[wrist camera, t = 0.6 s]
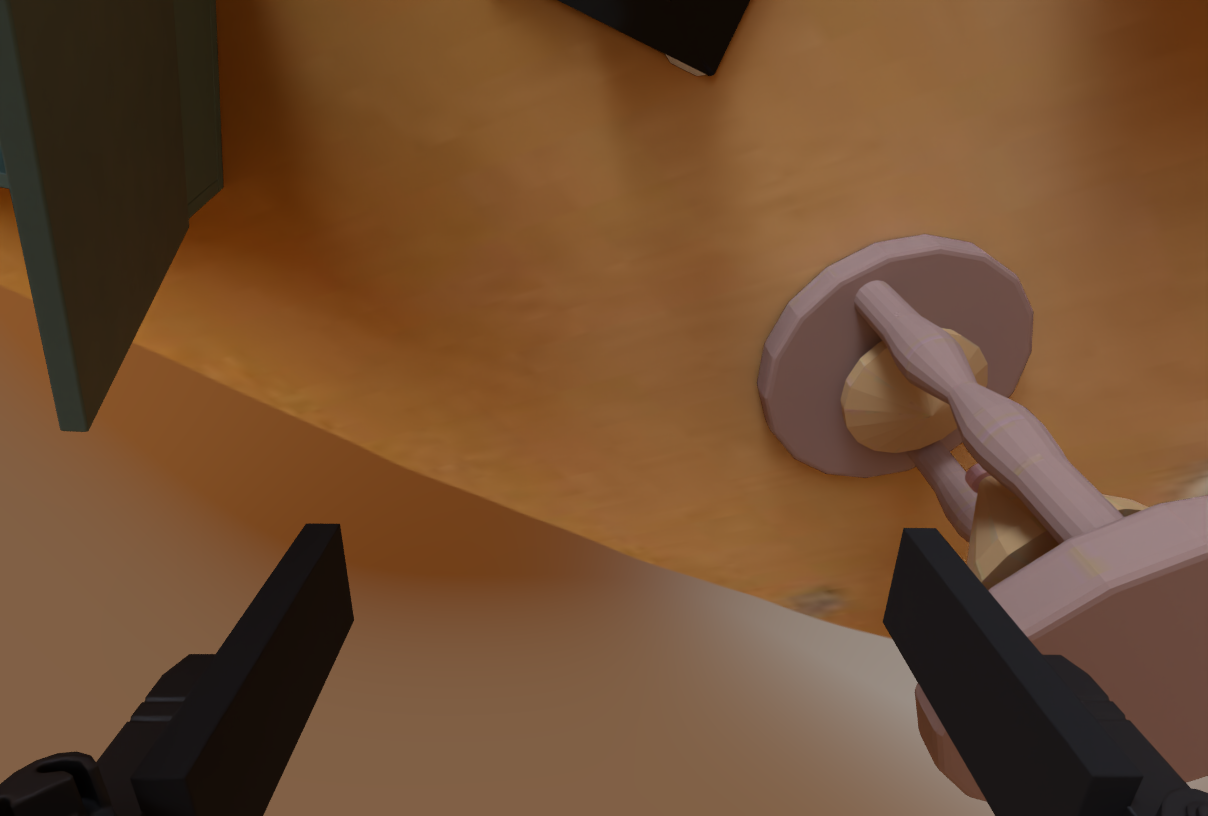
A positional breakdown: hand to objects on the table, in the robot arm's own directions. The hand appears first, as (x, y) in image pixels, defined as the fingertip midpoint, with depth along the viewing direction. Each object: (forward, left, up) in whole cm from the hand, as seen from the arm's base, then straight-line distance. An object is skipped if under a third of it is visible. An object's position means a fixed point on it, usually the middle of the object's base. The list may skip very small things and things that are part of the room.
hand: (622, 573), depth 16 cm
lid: (-4, -16, -14) cm, 22 cm away
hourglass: (+6, +23, -27) cm, 36 cm away
